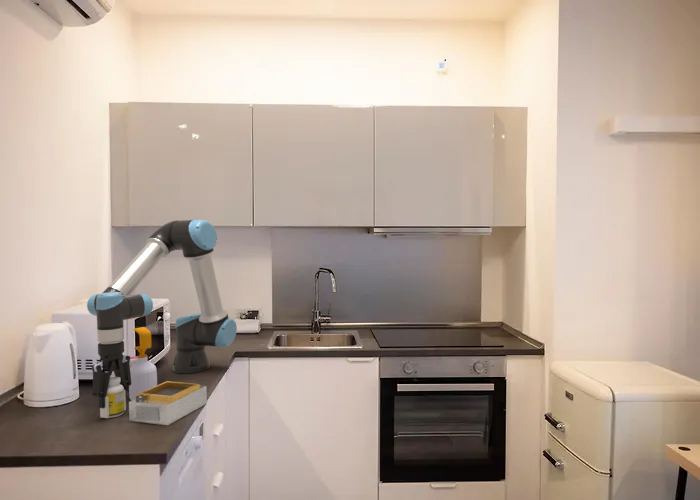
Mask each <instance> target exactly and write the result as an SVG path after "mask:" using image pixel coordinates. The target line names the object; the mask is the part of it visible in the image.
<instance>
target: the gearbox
mask: <svg viewBox="0 0 700 500" xmlns="http://www.w3.org/2000/svg"><path fill="white" fill-rule="evenodd" d="M207 390H208V389H207V385H201V384H200V383H194V382H192V383H191V382H182V381H169V380H166V381H164V382H162V383H159V384H157V386H154V387H152V388H150V389H147V390H145V391H143V392H140V393H138V394H137V396H136V399H134V400H129V401H128V415H129V419H128V420H129V421H130V422H136V423H143V424H152V425H153V424H154V425H160V426H169V425H171V424H173V423H174V422H176V421H178V420H180V419H181V418H183V417H186V416H187V415H189V414H191V413H193V412H194V411H196V410H198V409H200V408H201V407H203V406H205V405H207V403H208V400H207V398H208V397H207V396H208V395H207V393H208V392H207Z"/></svg>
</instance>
